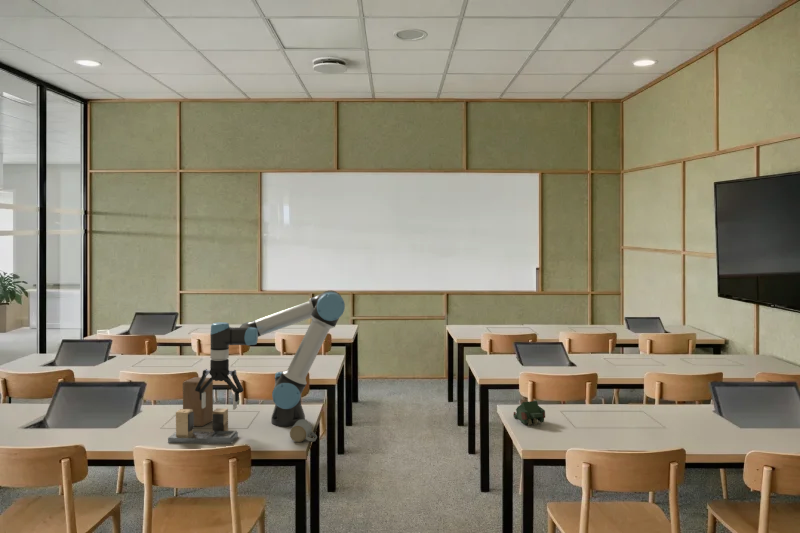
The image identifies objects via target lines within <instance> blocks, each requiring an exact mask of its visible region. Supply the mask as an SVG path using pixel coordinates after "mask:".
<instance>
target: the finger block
mask: <svg viewBox="0 0 800 533" xmlns="http://www.w3.org/2000/svg"><path fill="white" fill-rule="evenodd" d="M212 418H213V420H212V432H214V431H215V430H223V431H229V409H228V408H215V409H213V412H212Z"/></svg>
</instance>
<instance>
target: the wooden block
mask: <svg viewBox="0 0 800 533" xmlns="http://www.w3.org/2000/svg"><path fill="white" fill-rule="evenodd" d="M201 377H202V376H201ZM201 377H200V376H199V377H198V376H197V377H196V376H194V377H192V378H189V379H186V380H184V381H183V382H182V409H193V412H194V427H204V426H206V425H207V424H209V423H211V422H213V418H212V412H213V411H214V389H213V388H214V386H213V384H214V383H213V382H214V380H213V381H212V382H211V383H210V385H209V386H208V387H207V388H206V389H205V390H204V392H206V407H205V408H202V400H200V393H199V392H198V391H195V389H196V387H197V385H198V383H199V381H200V379H201ZM210 378H211V377H206V378H205V380H204V382H203V384H202V386H201V388H202V387H203V386H204V385H205V384H206V383H207V382H208V380H209V379H210Z"/></svg>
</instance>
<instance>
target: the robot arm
mask: <svg viewBox="0 0 800 533" xmlns="http://www.w3.org/2000/svg"><path fill="white" fill-rule="evenodd" d="M345 307H346V304H345V300H344V298H343V297H342V295H341V294H340V293H339V292H337V291H335V290H325V291H323V292H321V293H319V294H318V295H315V296H313V297H310V298H309V299H308V301H306V302H303V303H300V304H297V305H295V306H292V307H289V308H286V309H282V310H280V311H278V312H274V313H272V314H269V315H266V316H264V317H260V318H258V319H255V320H252V321H250V322H249V321H247V322H245V323H242V324H241V325H240V326H239V327H230V324H229V323H228V322H222V321H220V322H219V321H218V322H213V323H211V325H210V336H209V337H210V362H209V364H210V365H209V366H210V370H208V369H207V368H205V369H203V370H202V375H201V379H200V381H199V383H198V385H197V387H196V389H195V391H198V392H199V393H200V400H202V408H205V407H206V392H204V390H205V389H206V388H207V387H208V386H209V385H210V383H211V382H212V381H213V382H214V381H215V382H218V381H219V382H223V381H224V382H225V383H226V384H227V386H229V388H230V389H231V391H233V394H232V410H236V409H238V402H239V400H240V394H242V392H244V387H243V386H242V383H241V381H240V379H239V376H238V375H237V370H236V369H233V370H230V369H229V368H230V367H229V366H230V363H229V362H230V360H229V356H230V355H229V354H230V350H229V347H230V346H255V345H257V343H258V341H259V340H258V339H259V337H261V336H264V335H266V334H270V333H273V332H275V331H278V330H281V329H283V328H286V327H290V326H292V325H295V324H298V323H301V322H303V321H306V320H309V319H311V322H310V323H309V326H308V327H307V329H306V332H305V333H304V336H303V338H302V340H301V342H300V344H299V346H298V348H297V350H296V352H295V354H294V355H293V358H292V360H291V362H290V363H289V366H288V368H287V369H286V370H283V371H277V372H276V373H274V374H275V375H274V387H273V390H272V392H271V393H272V396H271V397H272V401H273V403H274V405H275V406H274V408H273V412H272V415H271V424H272V425H274V426H279V427H293V426H294V424H295V423H296V422H297V421H298V420H301V419H304V420H306V415H305V412H304V409H303V406H302V393H303V392H304V389H305V388H306V386H307V384H308V383H307V379H306V378H307V376H308V373H309V371H310V370H311V368H312V366H313V364H314V361H315V359H317V358H316V357H317V356H318V353H319V351H320V349H321V348H322V346H323V344H324V341H325V340H326V338H327V335H328V333H329V331H330V330H331V329H333V328H336V325H337V323H338V321H339V320H340V318H341V317H342V315H343V314H344V311H345V310H346V308H345ZM208 375H210V377H209V378H210V379H209V380H208V382H207V383H206V384H205V385H204V386H203V387H202V388H201V386H202V384H203V382H204V380H205V378H207V376H208ZM229 375H230V376H231V377H232V380H233V381H232V380H231V378H230V377H229ZM233 382H234V383H233Z"/></svg>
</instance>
